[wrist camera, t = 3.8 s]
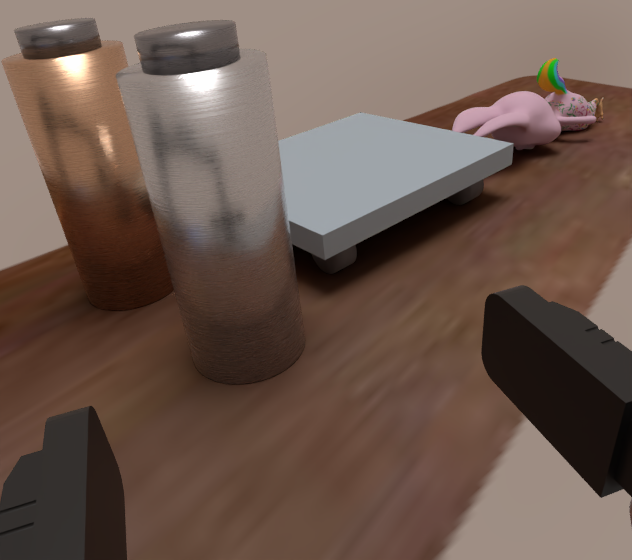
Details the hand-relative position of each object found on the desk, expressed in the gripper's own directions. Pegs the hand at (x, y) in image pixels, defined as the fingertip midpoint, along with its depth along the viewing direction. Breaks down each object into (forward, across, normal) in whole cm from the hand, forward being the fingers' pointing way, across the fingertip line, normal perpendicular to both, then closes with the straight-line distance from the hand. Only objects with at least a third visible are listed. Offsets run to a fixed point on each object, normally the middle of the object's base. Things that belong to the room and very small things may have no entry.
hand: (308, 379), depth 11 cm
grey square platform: (+20, -8, +6) cm, 23 cm away
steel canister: (+10, 0, +6) cm, 12 cm away
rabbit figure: (+24, -24, +7) cm, 34 cm away
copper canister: (+18, +4, +6) cm, 19 cm away
